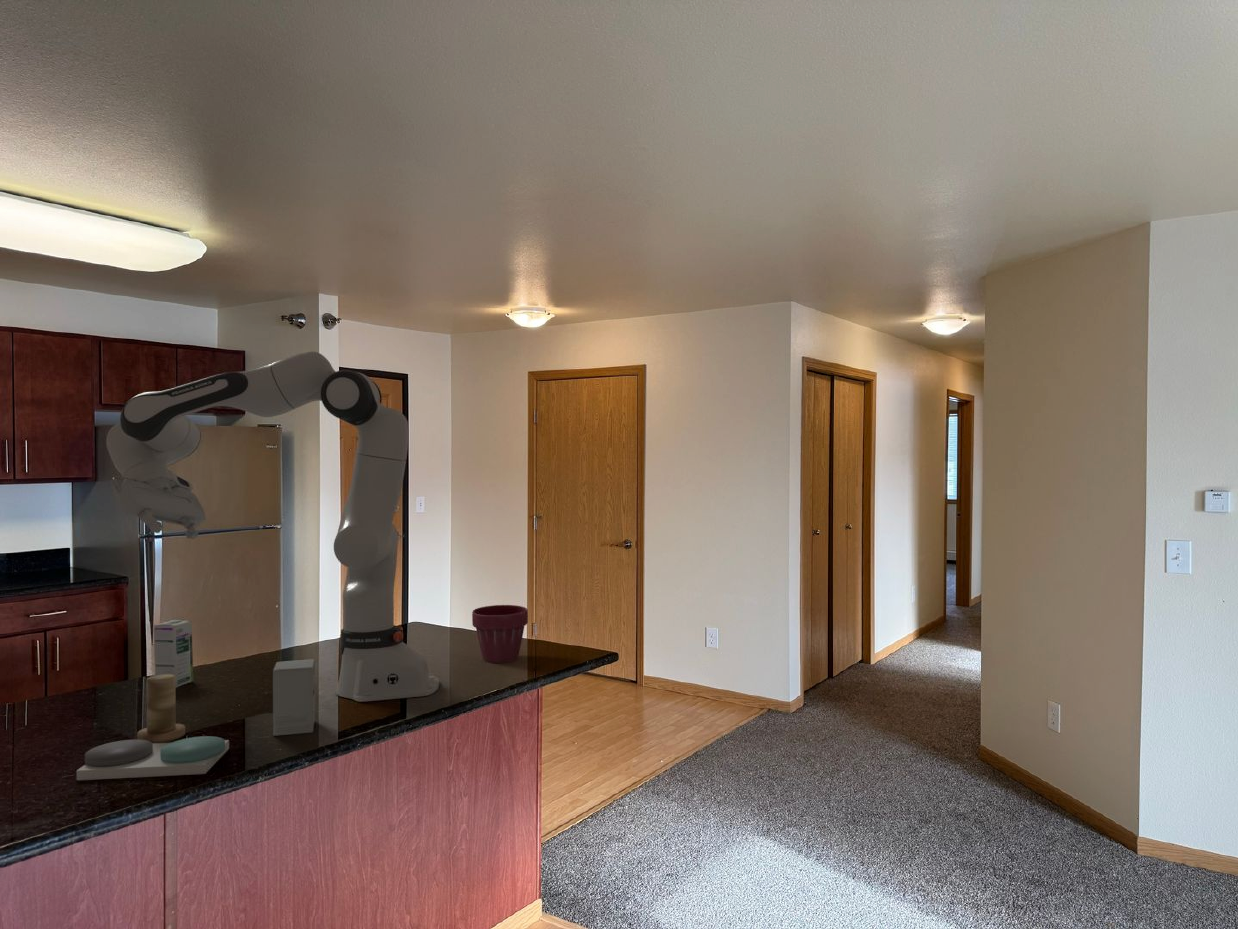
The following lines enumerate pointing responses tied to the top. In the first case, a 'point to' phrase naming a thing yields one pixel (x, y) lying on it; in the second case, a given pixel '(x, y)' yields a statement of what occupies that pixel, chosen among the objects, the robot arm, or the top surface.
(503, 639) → the plant pot
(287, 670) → the supplement box
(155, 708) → the brown cylinder round base
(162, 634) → the syrup box
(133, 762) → the double oval pad board
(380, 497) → the robot arm
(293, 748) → the top surface
